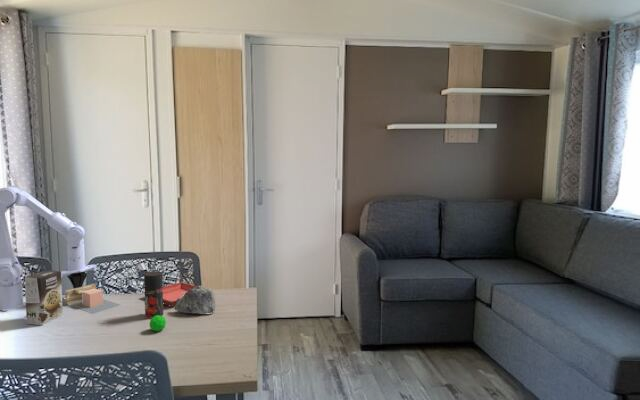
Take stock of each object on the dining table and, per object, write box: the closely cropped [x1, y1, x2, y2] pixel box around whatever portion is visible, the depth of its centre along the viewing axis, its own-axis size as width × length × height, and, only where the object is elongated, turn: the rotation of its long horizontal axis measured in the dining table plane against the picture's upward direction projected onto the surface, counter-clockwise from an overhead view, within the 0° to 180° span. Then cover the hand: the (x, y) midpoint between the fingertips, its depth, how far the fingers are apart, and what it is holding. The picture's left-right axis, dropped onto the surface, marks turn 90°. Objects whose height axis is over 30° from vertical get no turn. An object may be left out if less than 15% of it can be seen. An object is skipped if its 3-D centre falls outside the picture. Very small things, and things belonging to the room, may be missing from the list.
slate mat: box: [62, 298, 121, 315], centre depth 165 cm, size 25×11×1 cm, turn 59°
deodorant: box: [143, 270, 164, 319], centre depth 154 cm, size 6×6×15 cm
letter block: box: [82, 288, 104, 308], centre depth 163 cm, size 5×5×5 cm
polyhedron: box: [149, 315, 167, 332], centre depth 141 cm, size 5×5×5 cm
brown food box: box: [24, 270, 64, 326], centre depth 148 cm, size 9×6×16 cm
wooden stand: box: [63, 283, 97, 306], centre depth 166 cm, size 6×11×5 cm, turn 149°
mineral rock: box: [173, 285, 216, 315], centre depth 158 cm, size 13×11×10 cm
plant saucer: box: [143, 282, 198, 307], centre depth 173 cm, size 18×18×3 cm
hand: (77, 292), depth 168 cm, fingers closed, pressing on wooden stand
